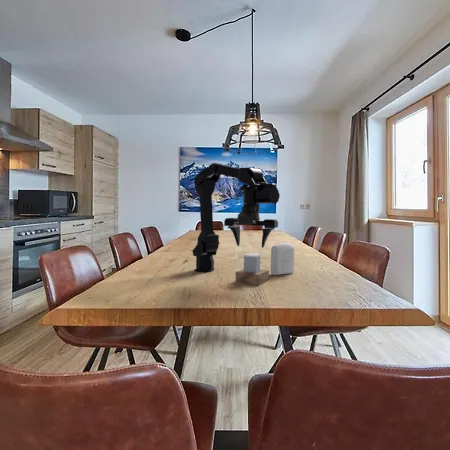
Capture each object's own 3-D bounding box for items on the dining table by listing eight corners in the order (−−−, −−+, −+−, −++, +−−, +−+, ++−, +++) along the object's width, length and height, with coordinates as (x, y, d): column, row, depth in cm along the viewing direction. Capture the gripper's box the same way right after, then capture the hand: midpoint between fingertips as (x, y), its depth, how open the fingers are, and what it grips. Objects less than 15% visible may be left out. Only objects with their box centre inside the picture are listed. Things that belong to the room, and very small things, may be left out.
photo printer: (287, 271, 140) (288, 241, 139) (295, 273, 137) (296, 242, 136) (268, 274, 134) (269, 243, 134) (276, 276, 131) (276, 244, 130)
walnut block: (235, 283, 120) (235, 272, 119) (246, 278, 128) (246, 268, 127) (259, 286, 115) (259, 274, 115) (268, 281, 123) (268, 270, 123)
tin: (243, 271, 120) (243, 255, 119) (247, 269, 124) (248, 253, 124) (256, 273, 118) (256, 255, 118) (260, 270, 122) (260, 254, 122)
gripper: (218, 202, 117) (217, 247, 118) (271, 203, 110) (269, 251, 111) (230, 203, 128) (229, 244, 129) (279, 203, 121) (277, 247, 122)
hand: (250, 246), depth 122 cm, fingers open, 9 cm apart
